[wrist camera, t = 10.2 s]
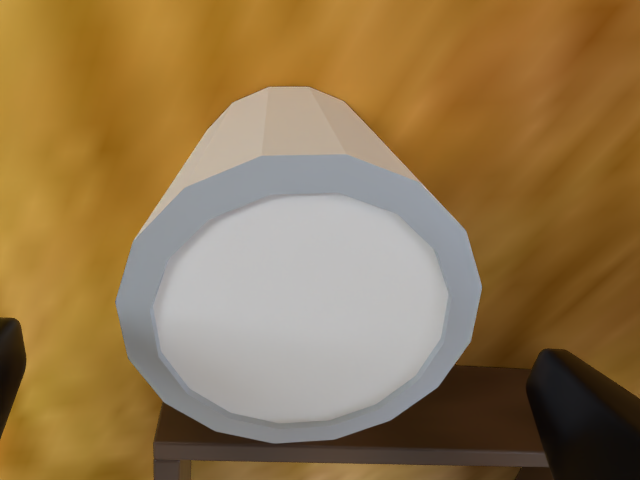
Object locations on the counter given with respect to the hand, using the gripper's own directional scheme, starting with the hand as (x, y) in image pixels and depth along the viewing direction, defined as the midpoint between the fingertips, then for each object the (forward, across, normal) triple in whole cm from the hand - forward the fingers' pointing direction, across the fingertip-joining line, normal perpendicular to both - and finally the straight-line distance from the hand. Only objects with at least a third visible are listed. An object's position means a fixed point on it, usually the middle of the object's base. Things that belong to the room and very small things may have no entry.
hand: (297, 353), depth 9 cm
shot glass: (+8, 0, 0) cm, 8 cm away
